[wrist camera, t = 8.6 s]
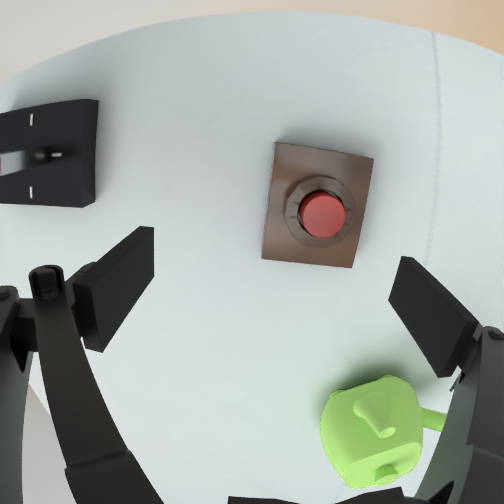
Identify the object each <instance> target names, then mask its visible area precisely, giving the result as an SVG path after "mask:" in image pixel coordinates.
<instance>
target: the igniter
mask: <svg viewBox="0 0 504 504" xmlns="http://www.w3.org/2000/svg"><path fill="white" fill-rule="evenodd" d="M373 161H374V159H373V158H368V157H364V156H359V155H354V154H349V153H343V152H338V151H332V150H326V149H320V148H314V147H308V146H301V145H294V144H287V143H279V142H275V143H274V152H273V160H272V168H271V177H270V185H269V193H268V201H267V210H266V218H265V226H264V234H263V242H262V250H261V258H262V259H268V260H277V261H287V262H296V263H306V264H315V265H325V266H334V267H344V268H352V266H353V262H354V258H355V254H356V249H357V245H358V241H359V236H360V231H361V227H362V222H363V217H364V212H365V207H366V202H367V196H368V191H369V185H370V180H371V174H372V167H373ZM317 192H325V193H329V194H331V195H333V196H334V197H335V198H336V199H337V200H339V201H340V203H341V204H342V205H343V207H344V210H345V221H344V224H343V226H342V228H341V229H340V231H339V232H337V233H336V234H335V235H333V236H331V237H327V238H319V237H315V236H313V235H312V234H310V233H309V232H308V231H307V230H306V228H305V226H304V224H303V222H302V220H301V216H300V210H301V206H302V204H303V202H304V201H305V199H306V198H307V197H309V196H310V195H312V194H314V193H317Z"/></svg>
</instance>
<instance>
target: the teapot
mask: <svg viewBox="0 0 504 504" xmlns="http://www.w3.org/2000/svg"><path fill="white" fill-rule="evenodd" d="M446 417H447V414H444V413H440V412H436V411H433V410H429V409H425V408H422V407H420V405H419V402H418V399H417V396H416V394H415V392H414V389H413V388H412V386H411V385H410V384H409V383H408V382H406V381H405V380H403V379H400V378H398V377H394V376H393V375H390V374H388V375H384V376H382V377H380V378H379V379H378V380H376V381H373V382H370V383H366V384H363V385H360V386H357V387H354V388H351V389H349V390H337V391H334V392H333V393H331V394H330V396H329V400H328V402H327V404H326V405H325V407H324V409H323V412H322V416H321V421H320V435H321V440H322V444H323V447H324V450H325V452H326V455H327V457H328V459H329V461H330V463H331V464H332V466H333V467H334V469H335V470H336V471H337V473H338V474H339V476H340V477H341V478H342V480H343V481H344V482H345V483H346V484H347V485H348V486H349V487H350V488H353V489H361V488H366V487H370V486H373V485H376V486H382V485H386V484H389V483H391V482H393V481H395V480H396V479H397V478H398V477H400V476H402V475H404V474H406V473H408V472H410V471H411V470H412V469H413V468H414V467H415V466H416V464H417V463H418V461H419V458H420V456H421V452H422V445H423V427H426V428H429V429H432V430H436V431H439V432H442V429H443V426H444V423H445V420H446Z"/></svg>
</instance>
